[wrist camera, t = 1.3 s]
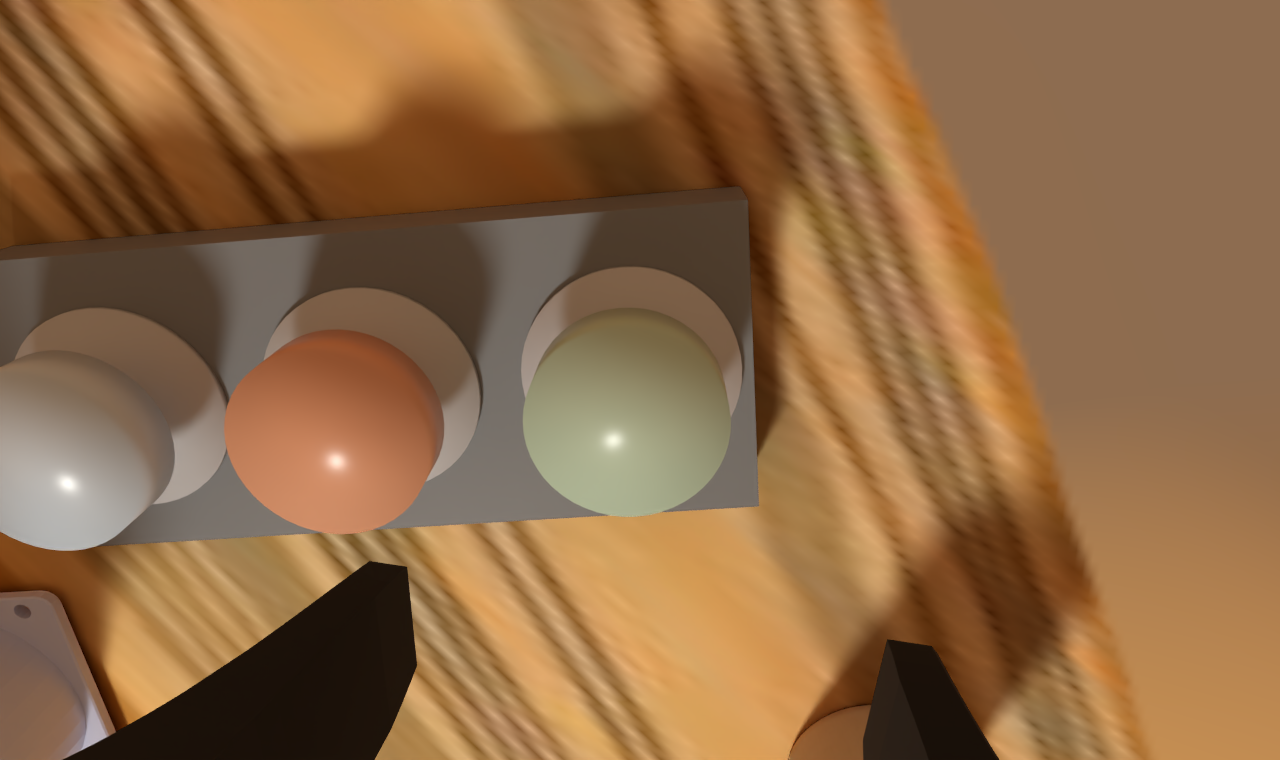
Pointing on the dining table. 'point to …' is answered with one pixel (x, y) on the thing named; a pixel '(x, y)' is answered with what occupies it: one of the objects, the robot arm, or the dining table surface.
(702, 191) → the button board
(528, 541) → the dining table surface
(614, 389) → the green button
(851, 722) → the candle
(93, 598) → the dining table surface
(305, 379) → the terracotta button
